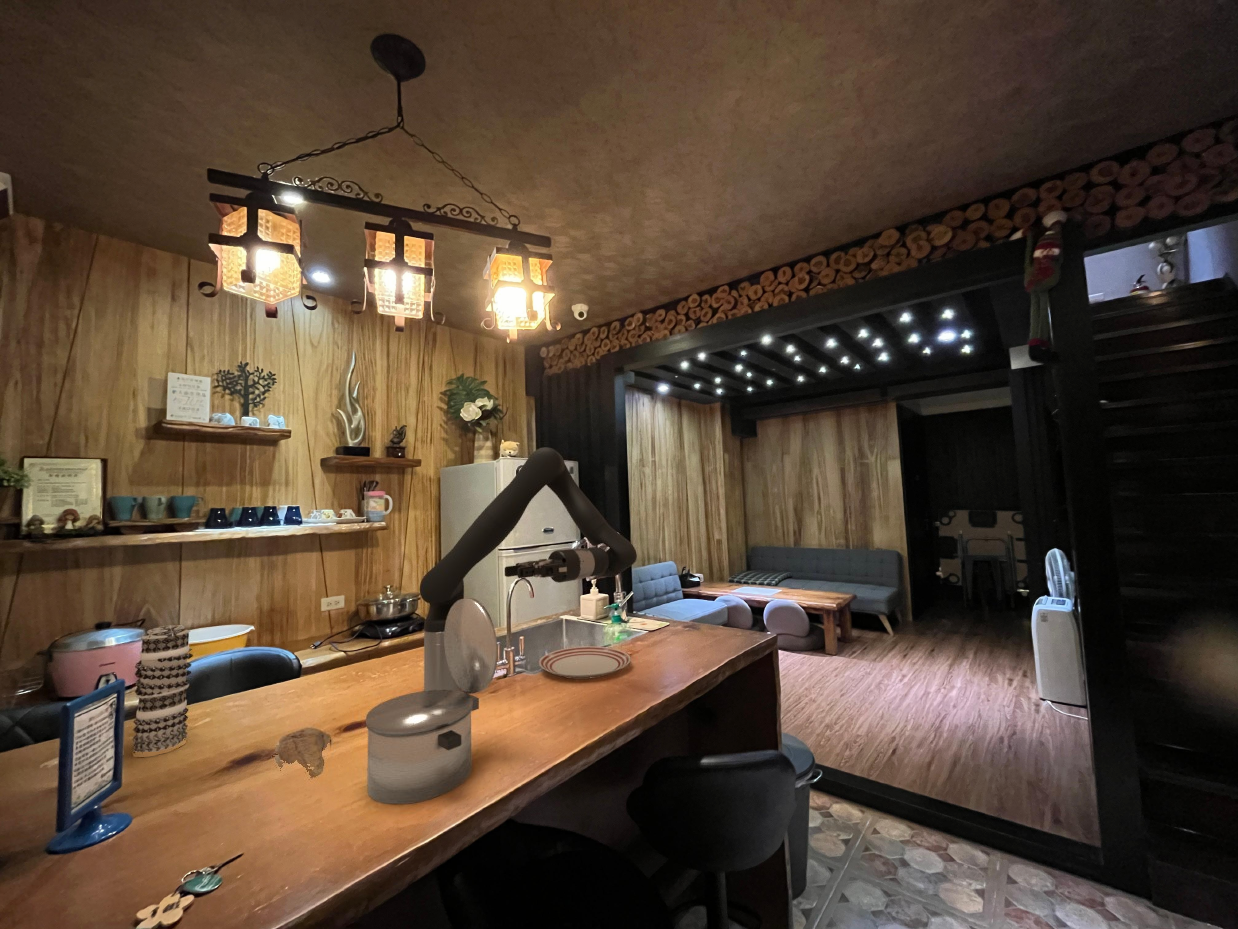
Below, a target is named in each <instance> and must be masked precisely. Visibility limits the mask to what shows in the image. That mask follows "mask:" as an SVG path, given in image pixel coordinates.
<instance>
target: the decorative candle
mask: <svg viewBox="0 0 1238 929" xmlns="http://www.w3.org/2000/svg"><path fill="white" fill-rule="evenodd" d="M190 633H191V630H190V629H187V627H186V626H185V625H183V624H169V625H162V626H156V627H153V628H150V629H148V630H147V631H146V632H145V634H144V635H143V636H141V637H140V639H141V651H140V652H139V661H137V662H136V664H135V669H137V670H136V671H135V672H134V676H135V677H136V678H138V679H137V680H136V681H135V685H134V686H136V689H135V690H134V693H135V697H136V698H137V699H138V702H137V705H138V708H137V710H136V714H135V715H136V716H135V719H134V720H133V724H134V725H135V726H134V728H133V730H132V731H133V732H134V733H135V734H134V735H133V737H132V742H133V744H132V746H131V748H132V750H133V752H134V751H137V752H142V753H143V752H155V751H159V750H164V749H168V748H171V747H174V746H176V745H178V744H179V743H181V742H182V741H183V739H184V738H185V739H186V738H187V735H188V732H187V728H188V727H189V725H188V724H187V723H186V721H187V720H188V719H189V716H188V715H187V713H188V712H189V708H187V704H188V703H187V702H188V700H187V699H186V698H187V689H188V688H189V686H190V683H191V681H190V680H188V679H187V677H188V676H190V675H191V674H192V670H189V668H191V667H192V663H191V662H188V660H190V659H191V658H193V657H194V655H193V654H192V653H190V652H192V651H193V649H192V648H190V644H189V641H190V636H189V635H190Z"/></svg>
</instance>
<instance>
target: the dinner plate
mask: <svg viewBox="0 0 1238 929" xmlns="http://www.w3.org/2000/svg"><path fill="white" fill-rule="evenodd" d="M577 658H579V659H577ZM575 659H577V660H575ZM631 660H632V659H631V656H630V655H629V654H628V653H627V652H625V651H622V650H620V649H617V648H613V647H612V648H611V647H606V646H605V647H604V646H591V645H590V646H587V645H586V646H585V645H584V646H575V647H568V648H567V647H565V648H562V649H558V650H554V651H552V652H549V653H546V654H545V655H544V656H542V657H541V658H540V659H539V660H538V665H539V667H540V668H541V669H542V670H544V671H545V672H548V673H550V674H553V675H556V676H560V677H562V676H564V677H563V678H566V677H571V678H570V679H573V678H586V679H591V678H590V677H595V678H599V677H598V676H600V677H603V676H602V675H604V676H607V675H609V674H612V673H615V672H618V671H620V670H621V669H623V668H626V667H627V666H629V664H630V663H631ZM570 661H571V662H570ZM575 662H577V663H575ZM561 664H562V665H561ZM560 665H561V666H560ZM581 666H582V667H581ZM585 666H588V667H585ZM606 674H607V675H606Z"/></svg>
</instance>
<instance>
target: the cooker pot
mask: <svg viewBox="0 0 1238 929" xmlns="http://www.w3.org/2000/svg"><path fill="white" fill-rule="evenodd" d="M479 704H480V698H479V697H478V696H474V695H472V694H470V693H467V692H465V691H462V690H461V691H456V690H429V691H424V690H423V691H417V692H416V691H415V692H412V693H407V694H403V695H399V696H396V697H393V698H390V699H387V700H385V701H382V702H381V703H380V704H377V705H375V706H374V707H372V708H371V709H370V710H369V711H368V712H367V713H366V717H365V726H366V729H367V764H366V765H367V769H366V770H367V773H366V774H367V775H366V776H367V777H366V780H367V781H366V782H367V783H366V787H367V788H366V791H367V794H368V796H369V797H370V798H371V799H372V800H374V801H375V802H377V803H381V804H387V805H409V804H414V803H415V804H416V803H419V802H425V801H428V800H431V799H434V798H436V797H440V796H442V795H444V794H446V793H447V794H448V793H449V792H450V791H453V790H454V789H456V788H457V787H459V786H460V785H461V784H462V783H463V782H465V781H466V780H467V778H468V777H469V776H470V775H471V772H472V712H474V711H477V710H479V709H480V706H479Z"/></svg>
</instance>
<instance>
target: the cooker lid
mask: <svg viewBox="0 0 1238 929" xmlns="http://www.w3.org/2000/svg"><path fill="white" fill-rule="evenodd" d="M496 633H497V632H496V630H495V626H494V623H493V620H492V618H491V615H490V613H489V612H488V610H487V608H486V607H485V606H484V605H483V603H482V602H480V601H479V600H477V599H476V598H473V597H467V598H466V597H464V599H460V600H458V601H457V602H455V603H454V605H453V606H452V607H451V609H450V611H449V613H448V616H447V619H446V624H445V631H444V647H445V655H446V660H447V664H448V667H449V670H450V673H451V675H452V677H453V679H454V681H455V682H456V684H457V685H458V686H459V687H460V688H461V691H462V692H465V693H467V694H470V695H472V694H473V695H474V694H477V693H480V692H483V691H484V690H486V689H487V688H488V687H489V685H491V683H492V681H493V679H494V676H495V675H496V674H495V673H496V670H497V665H498V650H499V649H498V642H497V641H498V639H497V634H496Z"/></svg>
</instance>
